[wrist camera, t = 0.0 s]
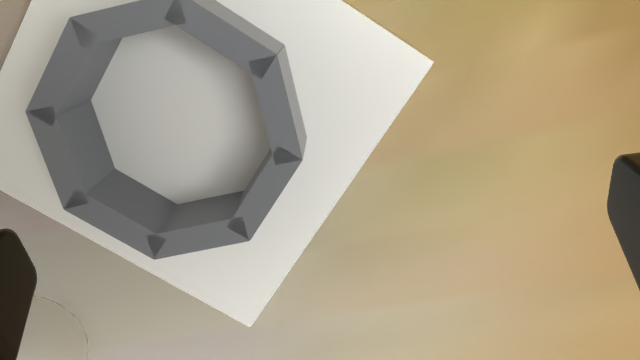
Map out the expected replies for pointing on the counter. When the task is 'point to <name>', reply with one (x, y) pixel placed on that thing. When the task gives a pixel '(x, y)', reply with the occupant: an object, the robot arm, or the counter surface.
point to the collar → (198, 129)
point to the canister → (52, 334)
